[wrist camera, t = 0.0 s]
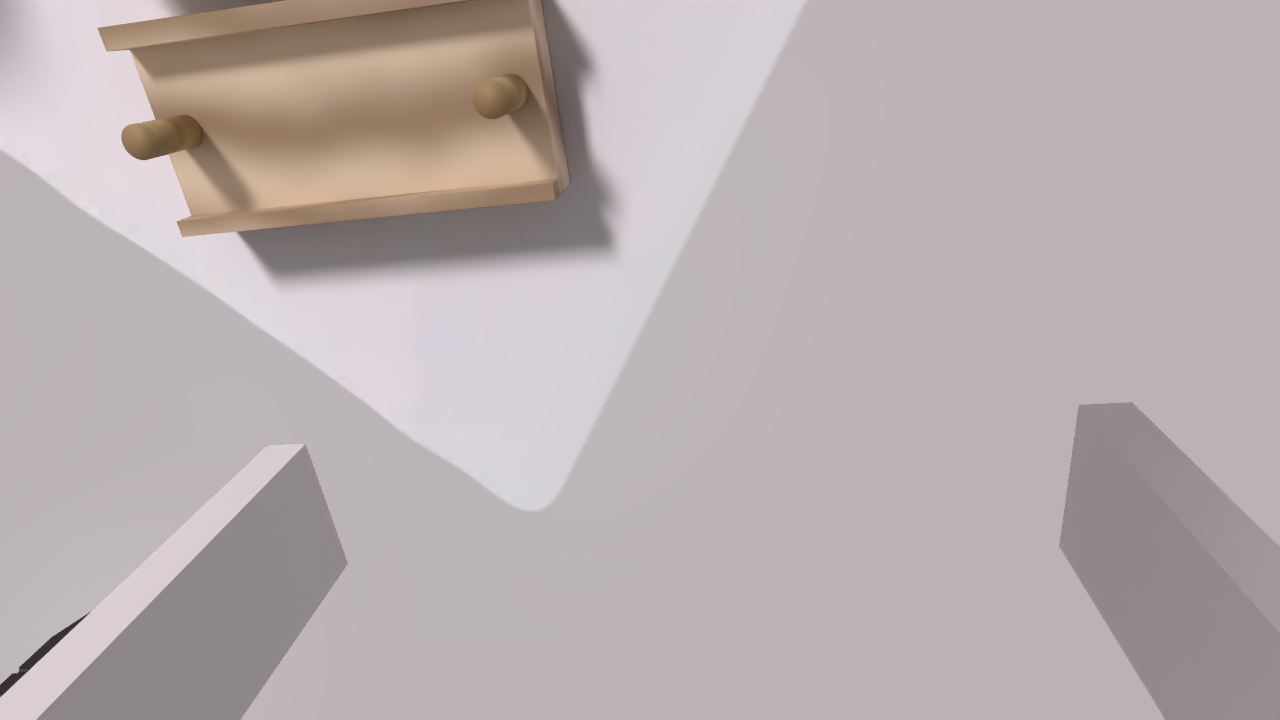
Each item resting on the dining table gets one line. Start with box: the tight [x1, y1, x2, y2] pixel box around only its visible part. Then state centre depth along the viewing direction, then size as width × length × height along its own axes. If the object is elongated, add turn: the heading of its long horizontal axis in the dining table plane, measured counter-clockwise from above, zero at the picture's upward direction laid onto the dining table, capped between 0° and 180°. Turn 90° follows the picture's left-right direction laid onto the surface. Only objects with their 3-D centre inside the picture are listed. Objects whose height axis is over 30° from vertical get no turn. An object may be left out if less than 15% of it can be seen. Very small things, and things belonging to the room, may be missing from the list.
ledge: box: [98, 0, 570, 237], centre depth 36 cm, size 10×20×6 cm, turn 97°
